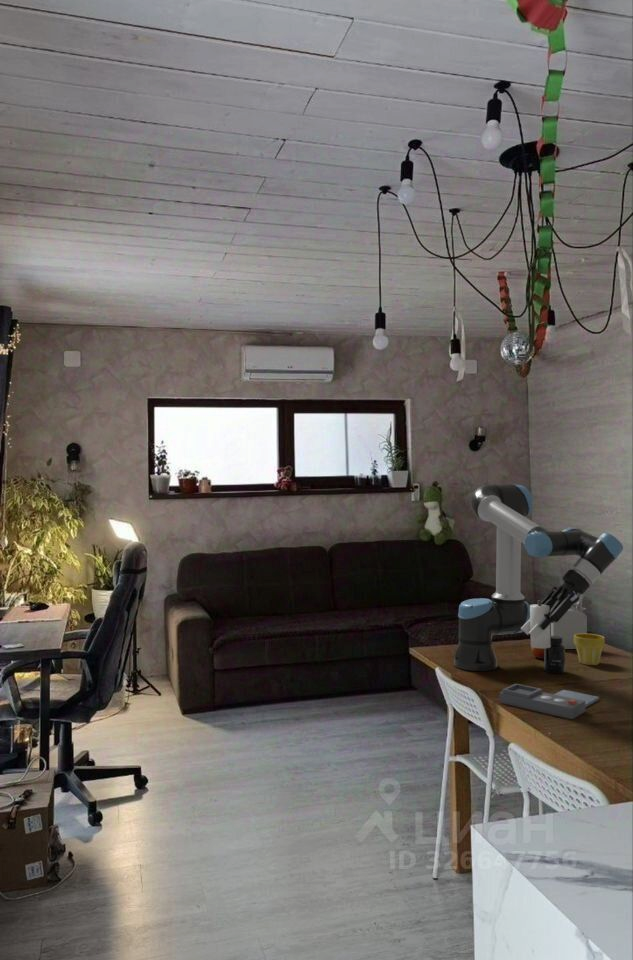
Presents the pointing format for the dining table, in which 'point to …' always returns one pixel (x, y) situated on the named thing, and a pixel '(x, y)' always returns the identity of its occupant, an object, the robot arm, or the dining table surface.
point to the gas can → (571, 624)
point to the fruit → (538, 652)
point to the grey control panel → (541, 701)
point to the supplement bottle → (555, 656)
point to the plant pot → (589, 648)
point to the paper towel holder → (535, 616)
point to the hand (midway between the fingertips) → (528, 633)
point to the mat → (578, 696)
